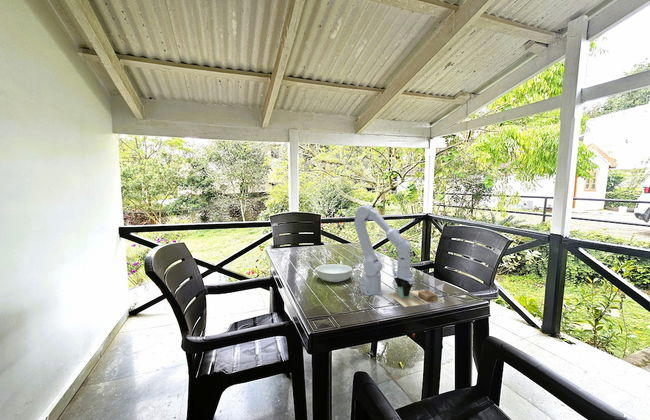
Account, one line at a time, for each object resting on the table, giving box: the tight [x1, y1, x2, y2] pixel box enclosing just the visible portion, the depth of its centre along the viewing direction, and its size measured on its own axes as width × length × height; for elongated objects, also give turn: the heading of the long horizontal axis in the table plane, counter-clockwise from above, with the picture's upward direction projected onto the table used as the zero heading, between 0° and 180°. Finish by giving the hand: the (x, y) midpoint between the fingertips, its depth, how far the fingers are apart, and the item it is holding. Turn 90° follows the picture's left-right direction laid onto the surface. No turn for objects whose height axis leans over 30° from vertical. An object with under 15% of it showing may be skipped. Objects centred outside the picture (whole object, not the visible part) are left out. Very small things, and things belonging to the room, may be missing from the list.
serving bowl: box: [315, 263, 353, 283], centre depth 158 cm, size 21×21×7 cm
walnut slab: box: [418, 290, 439, 302], centre depth 127 cm, size 6×6×2 cm
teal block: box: [397, 287, 410, 298], centre depth 130 cm, size 4×4×4 cm
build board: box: [387, 289, 445, 308], centre depth 128 cm, size 20×16×1 cm
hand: (403, 294), depth 130 cm, fingers closed on teal block, 4 cm apart
